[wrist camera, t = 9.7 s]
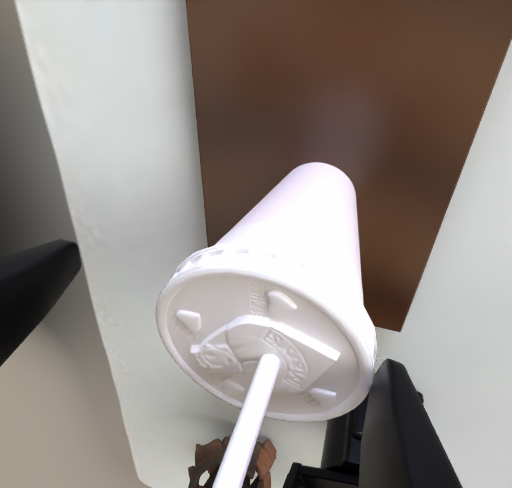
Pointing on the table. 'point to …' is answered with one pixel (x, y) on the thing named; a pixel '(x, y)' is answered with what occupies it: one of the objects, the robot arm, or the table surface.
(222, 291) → the smoothie
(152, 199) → the table surface
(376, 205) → the board
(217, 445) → the brown irregular piece
